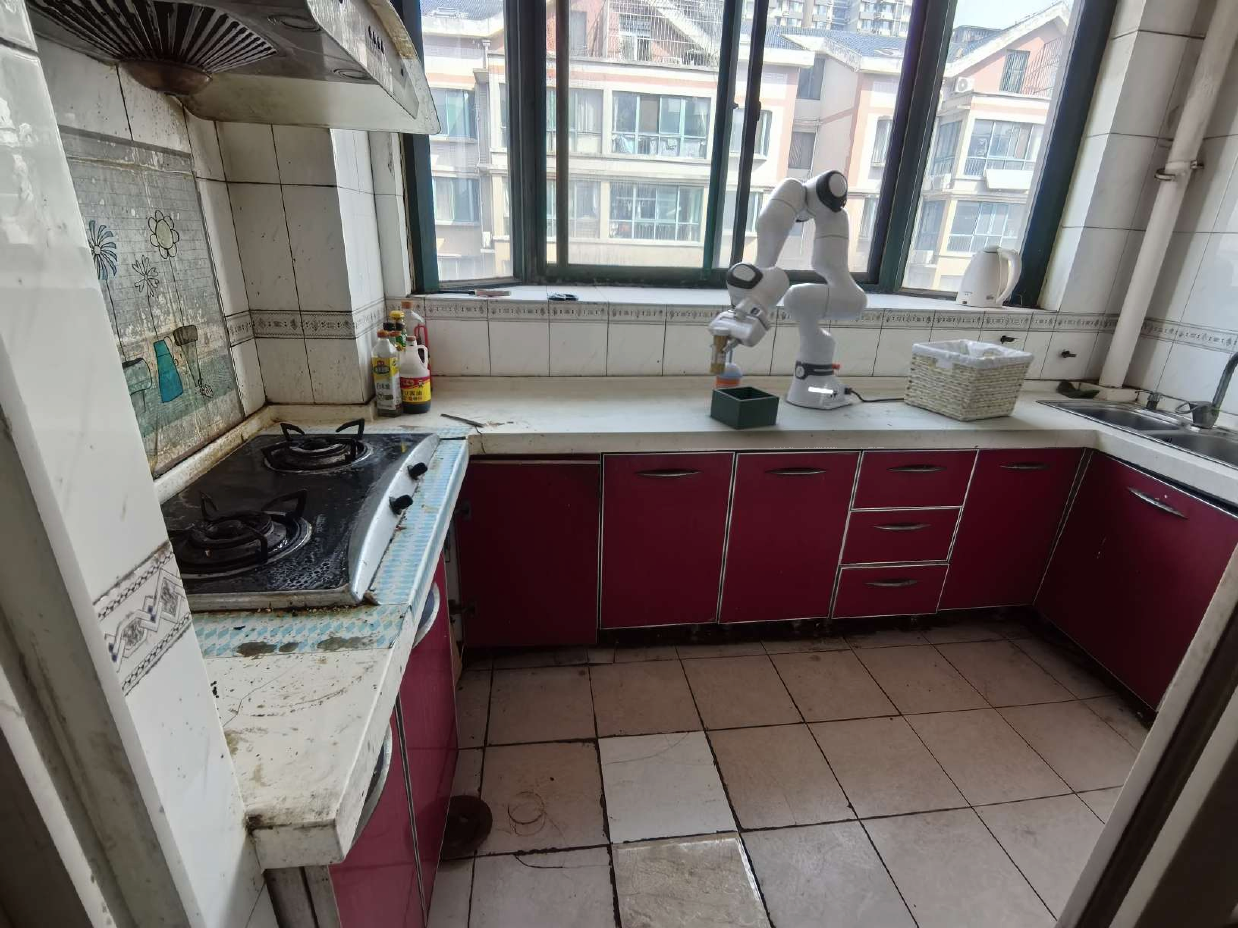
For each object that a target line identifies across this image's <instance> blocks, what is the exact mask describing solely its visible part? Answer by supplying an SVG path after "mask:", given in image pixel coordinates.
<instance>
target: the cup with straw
mask: <svg viewBox="0 0 1238 928" xmlns="http://www.w3.org/2000/svg"><path fill="white" fill-rule="evenodd" d="M733 352H734V351H733V349H731V350H730V351H729V354H728V362H725V370H724V372H725V373H724V374H722V375H715V374H714V376H715V377H716V379H715V389H722V388H732V387H740V385H741V382H740V381H741V379H742V378H743V375H744V374H743V372H742V371H741V368H740V366H739V365H738V364H736V363H735V362H732V361H733V354H734V353H733Z"/></svg>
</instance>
